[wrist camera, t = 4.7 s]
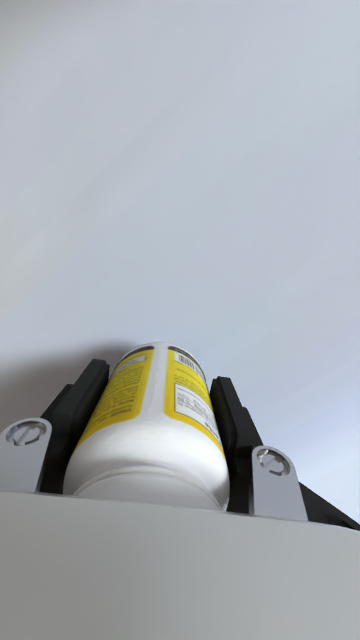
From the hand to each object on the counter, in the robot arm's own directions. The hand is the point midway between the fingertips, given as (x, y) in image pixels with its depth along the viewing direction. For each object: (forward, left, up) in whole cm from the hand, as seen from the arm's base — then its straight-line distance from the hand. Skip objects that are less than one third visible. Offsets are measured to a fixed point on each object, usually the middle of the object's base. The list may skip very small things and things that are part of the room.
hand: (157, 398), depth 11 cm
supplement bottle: (0, 0, -2) cm, 2 cm away
